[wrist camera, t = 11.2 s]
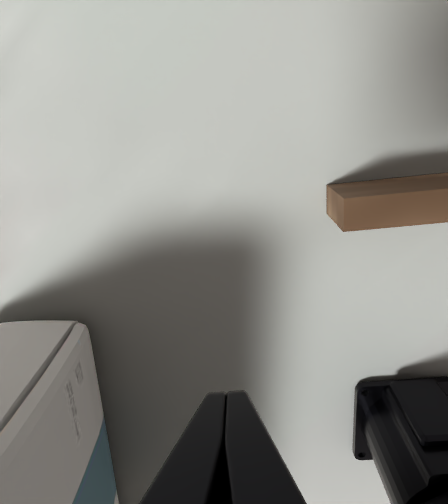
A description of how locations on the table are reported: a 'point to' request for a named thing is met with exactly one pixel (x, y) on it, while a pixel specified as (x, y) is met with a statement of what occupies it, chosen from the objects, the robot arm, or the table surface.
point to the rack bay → (389, 202)
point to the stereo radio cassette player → (52, 417)
